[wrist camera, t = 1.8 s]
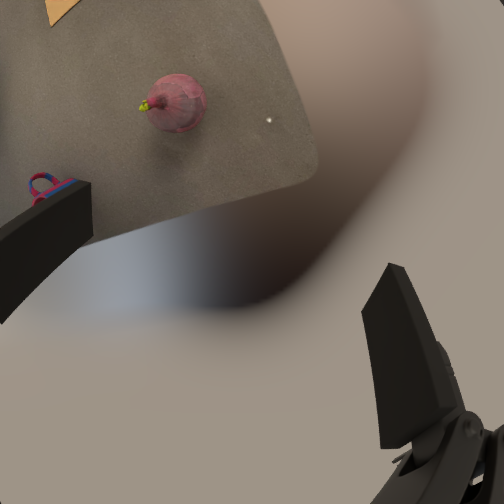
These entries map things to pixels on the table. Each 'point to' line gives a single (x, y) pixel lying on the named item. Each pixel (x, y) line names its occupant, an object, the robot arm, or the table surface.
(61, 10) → the cork mat
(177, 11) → the table surface
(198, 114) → the vegetable
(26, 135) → the table surface
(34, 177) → the cup
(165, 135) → the table surface
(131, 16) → the table surface
